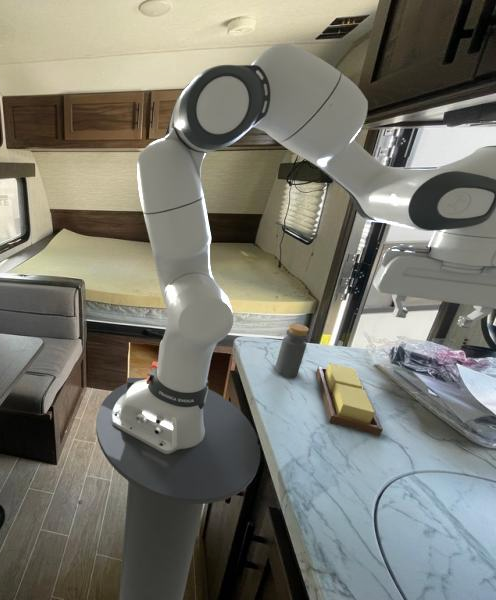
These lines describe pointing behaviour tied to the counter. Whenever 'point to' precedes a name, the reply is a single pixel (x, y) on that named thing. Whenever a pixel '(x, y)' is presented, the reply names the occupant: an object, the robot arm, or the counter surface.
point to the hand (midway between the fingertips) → (430, 321)
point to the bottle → (292, 351)
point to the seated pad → (341, 376)
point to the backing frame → (370, 428)
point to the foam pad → (352, 403)
